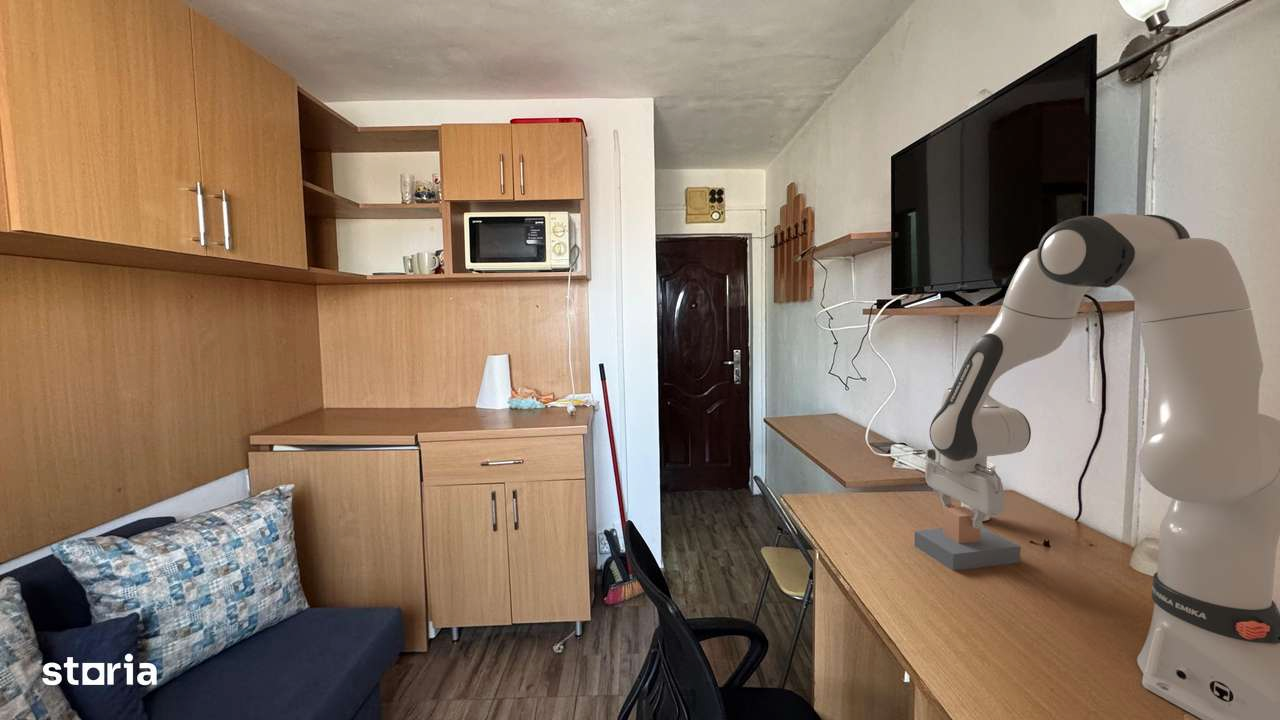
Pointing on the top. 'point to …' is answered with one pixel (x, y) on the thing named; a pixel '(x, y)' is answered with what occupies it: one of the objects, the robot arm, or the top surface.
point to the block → (960, 525)
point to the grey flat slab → (967, 549)
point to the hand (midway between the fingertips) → (961, 519)
